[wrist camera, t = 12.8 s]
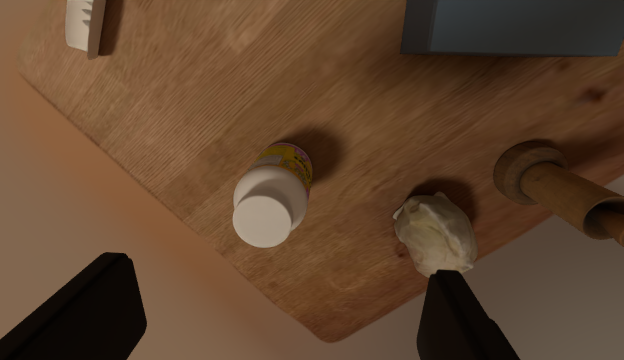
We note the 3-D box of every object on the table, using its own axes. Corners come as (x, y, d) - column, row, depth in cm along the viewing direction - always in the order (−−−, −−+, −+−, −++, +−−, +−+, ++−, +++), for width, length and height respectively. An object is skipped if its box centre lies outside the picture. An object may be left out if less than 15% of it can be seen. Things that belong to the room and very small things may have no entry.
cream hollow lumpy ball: (407, 179, 37) (432, 182, 27) (471, 208, 37) (520, 222, 27) (375, 247, 38) (388, 273, 28) (437, 276, 37) (473, 314, 27)
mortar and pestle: (548, 194, 34) (752, 321, 18) (489, 198, 35) (634, 324, 18) (559, 139, 32) (809, 224, 15) (496, 144, 33) (670, 232, 16)
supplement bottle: (318, 189, 36) (312, 253, 24) (265, 198, 37) (234, 264, 25) (306, 135, 33) (293, 177, 22) (250, 146, 34) (208, 192, 22)
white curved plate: (98, -30, 26) (56, -49, 25) (86, 61, 29) (48, 47, 27) (113, -25, 29) (76, -42, 28) (100, 56, 32) (67, 44, 31)
